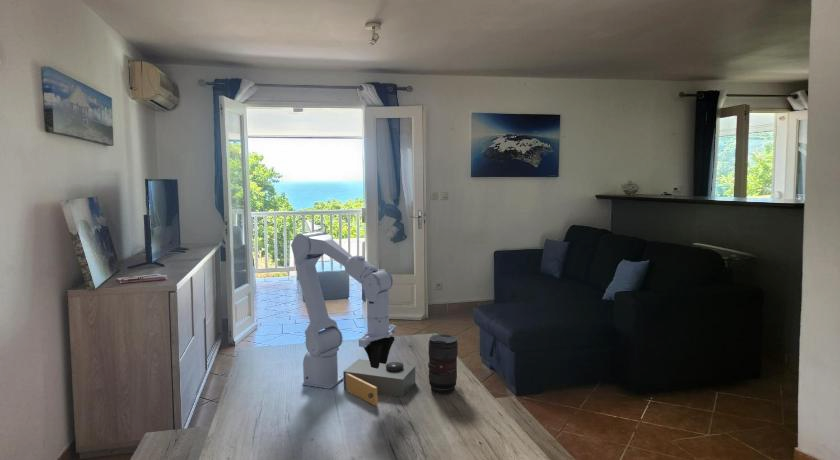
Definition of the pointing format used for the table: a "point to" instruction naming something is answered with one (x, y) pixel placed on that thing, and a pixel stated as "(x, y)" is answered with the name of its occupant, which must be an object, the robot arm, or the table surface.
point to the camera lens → (443, 363)
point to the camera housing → (384, 376)
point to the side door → (361, 389)
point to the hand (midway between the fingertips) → (378, 365)
